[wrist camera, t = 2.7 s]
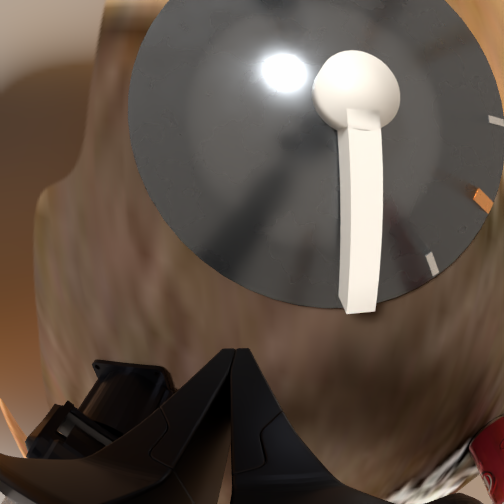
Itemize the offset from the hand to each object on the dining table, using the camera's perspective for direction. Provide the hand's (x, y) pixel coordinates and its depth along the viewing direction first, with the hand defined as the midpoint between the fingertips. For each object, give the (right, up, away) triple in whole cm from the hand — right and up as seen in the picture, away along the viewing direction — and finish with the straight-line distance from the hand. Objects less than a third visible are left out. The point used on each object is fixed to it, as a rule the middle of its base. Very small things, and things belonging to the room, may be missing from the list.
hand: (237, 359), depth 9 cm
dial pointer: (+6, +7, +6) cm, 11 cm away
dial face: (+5, +12, +5) cm, 14 cm away
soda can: (+32, -20, +14) cm, 40 cm away
